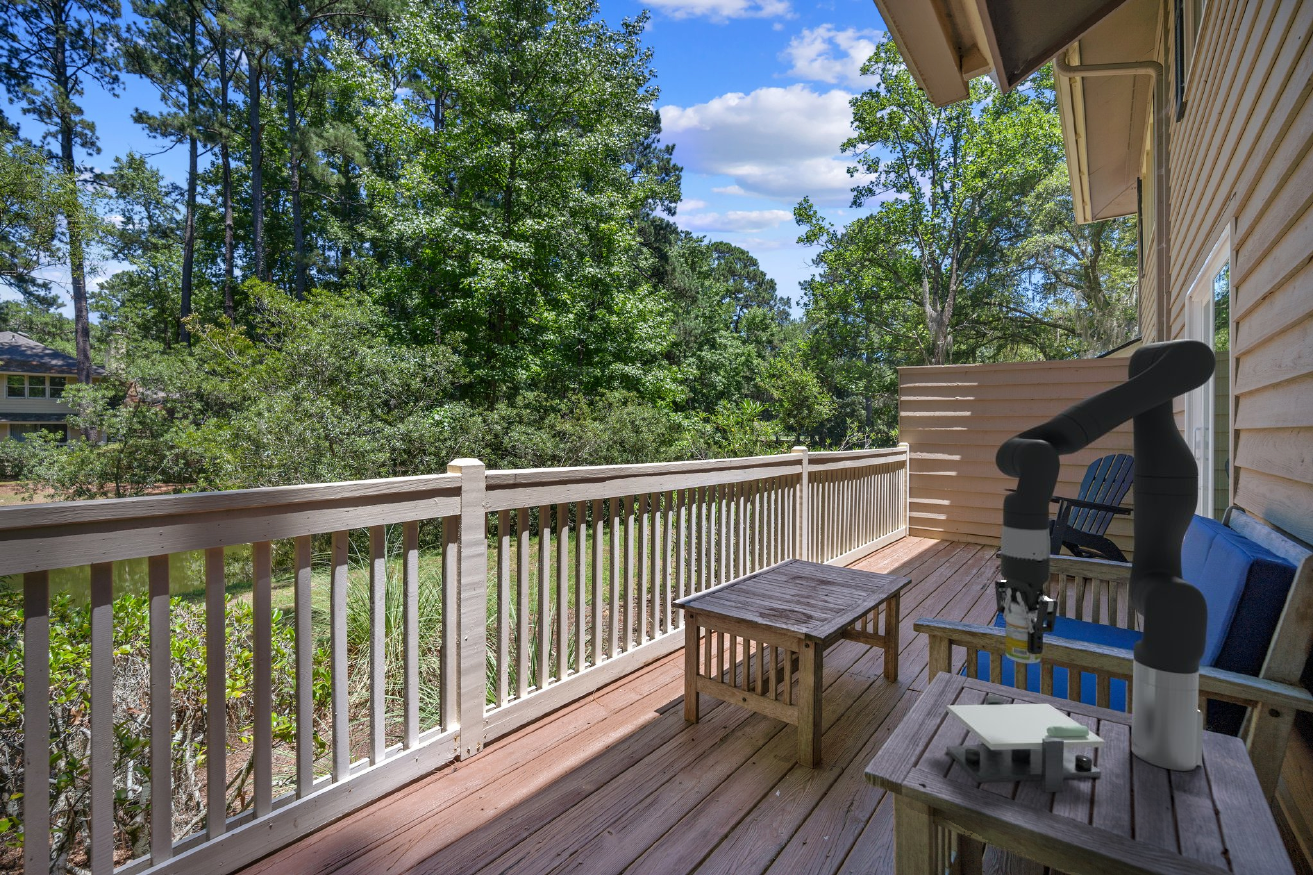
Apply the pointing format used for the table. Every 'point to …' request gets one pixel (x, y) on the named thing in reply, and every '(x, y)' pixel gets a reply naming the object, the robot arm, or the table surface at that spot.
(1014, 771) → the base
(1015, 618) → the supplement bottle
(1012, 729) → the levelling plate
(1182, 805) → the table surface
